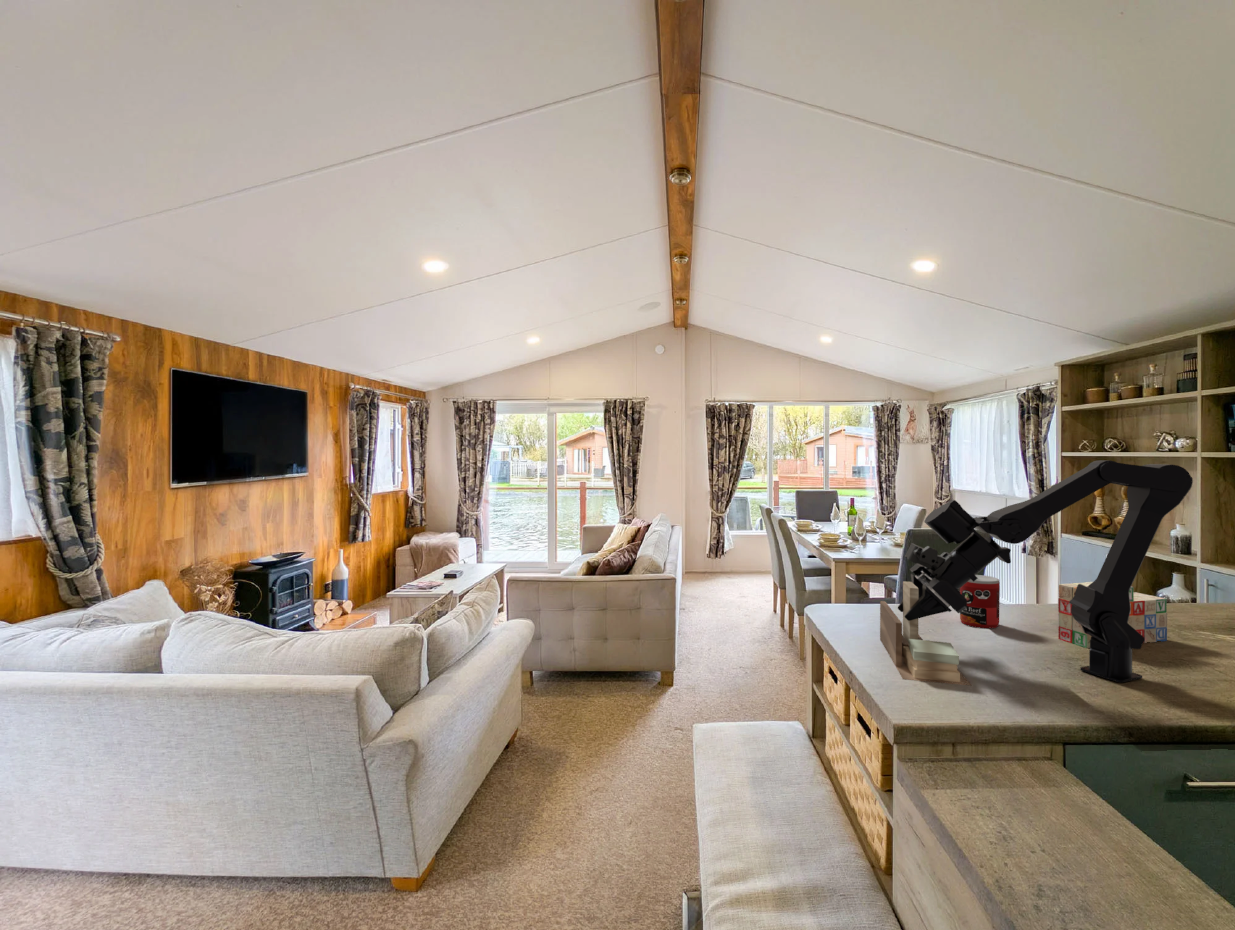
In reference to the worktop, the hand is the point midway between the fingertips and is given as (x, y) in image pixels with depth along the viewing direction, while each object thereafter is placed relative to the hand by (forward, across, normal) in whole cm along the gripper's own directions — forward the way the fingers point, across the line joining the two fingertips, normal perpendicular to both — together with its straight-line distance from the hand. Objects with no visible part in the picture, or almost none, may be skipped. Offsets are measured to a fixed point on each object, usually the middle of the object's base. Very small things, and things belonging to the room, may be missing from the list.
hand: (902, 614), depth 112 cm
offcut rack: (+5, +5, +8) cm, 10 cm away
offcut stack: (+3, +11, +7) cm, 13 cm away
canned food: (-10, -29, +22) cm, 38 cm away
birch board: (+4, 0, +6) cm, 7 cm away
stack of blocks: (-26, -23, +39) cm, 52 cm away
